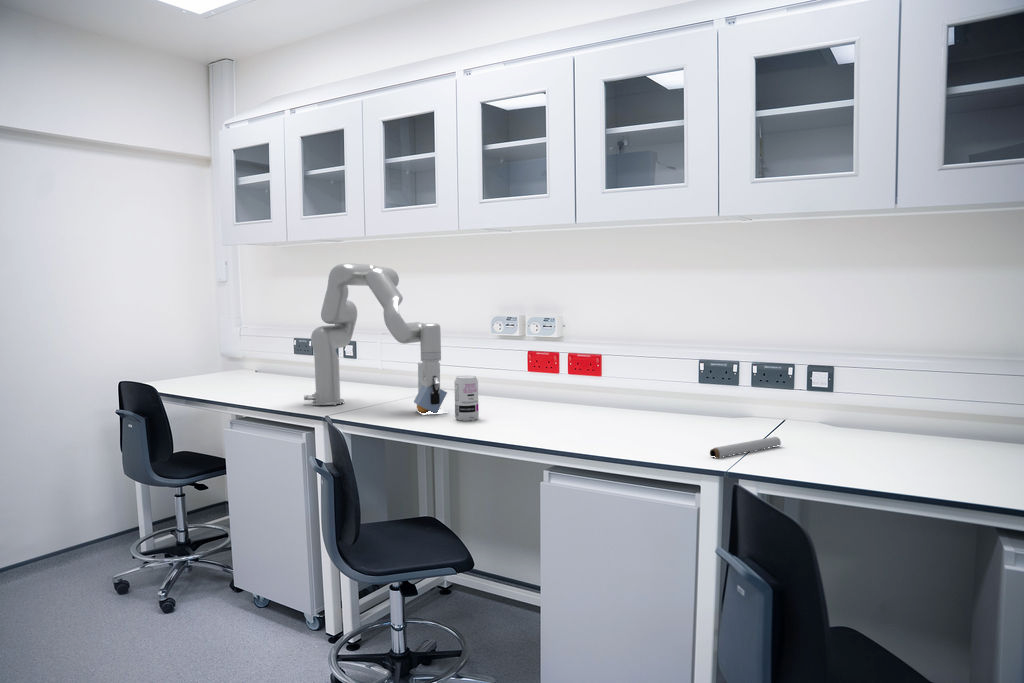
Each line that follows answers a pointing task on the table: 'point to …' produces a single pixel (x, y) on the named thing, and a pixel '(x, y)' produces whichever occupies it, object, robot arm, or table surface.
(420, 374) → the skincare box
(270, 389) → the table surface
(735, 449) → the grey tube
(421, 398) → the light blue square block
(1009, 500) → the table surface
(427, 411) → the ball
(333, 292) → the robot arm
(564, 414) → the table surface
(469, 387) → the supplement can
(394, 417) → the table surface
